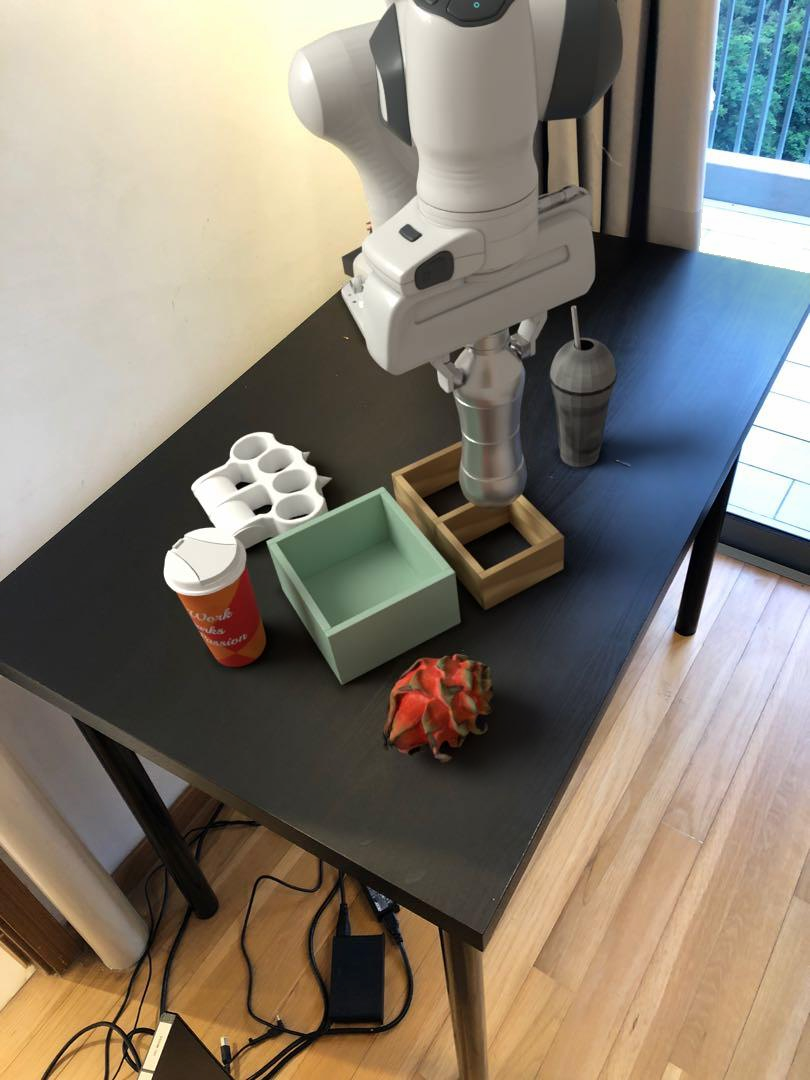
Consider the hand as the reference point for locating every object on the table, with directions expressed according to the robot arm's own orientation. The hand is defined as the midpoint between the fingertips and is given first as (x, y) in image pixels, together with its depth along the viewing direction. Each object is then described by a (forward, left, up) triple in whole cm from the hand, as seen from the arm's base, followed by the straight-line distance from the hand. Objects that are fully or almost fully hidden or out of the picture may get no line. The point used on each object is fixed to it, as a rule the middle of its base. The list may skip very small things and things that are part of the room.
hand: (487, 370), depth 76 cm
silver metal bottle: (0, 0, -15) cm, 15 cm away
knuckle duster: (-23, -17, -25) cm, 38 cm away
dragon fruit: (+14, -16, -25) cm, 33 cm away
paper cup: (-5, -28, -25) cm, 38 cm away
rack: (-4, 0, -25) cm, 25 cm away
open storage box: (-2, -15, -25) cm, 29 cm away
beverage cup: (-8, +17, -25) cm, 31 cm away
